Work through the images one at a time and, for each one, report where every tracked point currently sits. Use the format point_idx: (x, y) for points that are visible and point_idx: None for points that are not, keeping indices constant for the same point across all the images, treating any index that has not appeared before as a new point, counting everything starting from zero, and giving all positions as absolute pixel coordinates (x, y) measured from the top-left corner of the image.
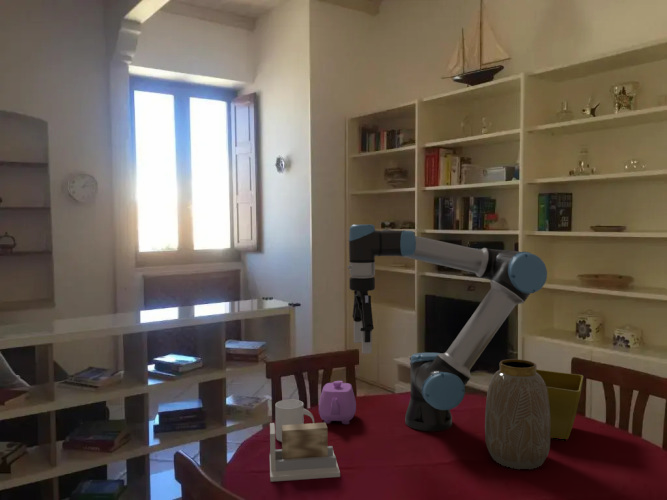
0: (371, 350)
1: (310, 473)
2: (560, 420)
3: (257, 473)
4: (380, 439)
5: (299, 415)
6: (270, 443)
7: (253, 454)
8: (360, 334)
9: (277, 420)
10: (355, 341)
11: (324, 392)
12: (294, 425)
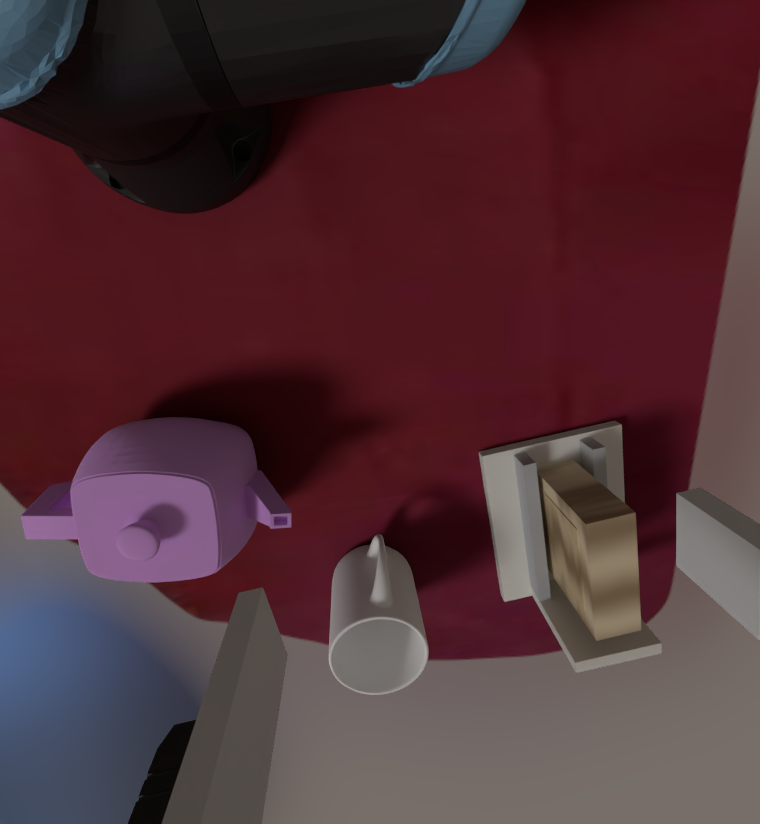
0: (722, 503)
1: (620, 493)
2: None
3: None
4: (362, 315)
5: (405, 601)
6: None
7: (477, 631)
8: (254, 682)
9: (405, 645)
10: (283, 658)
11: (219, 568)
12: (602, 608)
